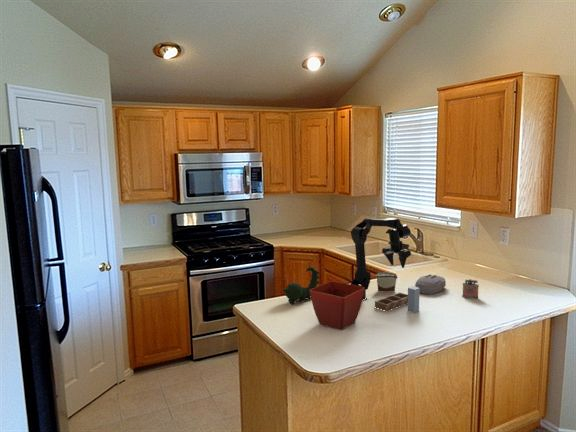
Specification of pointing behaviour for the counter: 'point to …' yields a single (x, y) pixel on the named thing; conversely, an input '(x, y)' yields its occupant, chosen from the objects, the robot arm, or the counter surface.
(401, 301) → the slot organizer
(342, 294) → the plant pot
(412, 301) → the plug block
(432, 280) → the soft grey pack
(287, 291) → the toy figurine
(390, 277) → the food container
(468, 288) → the lighter
